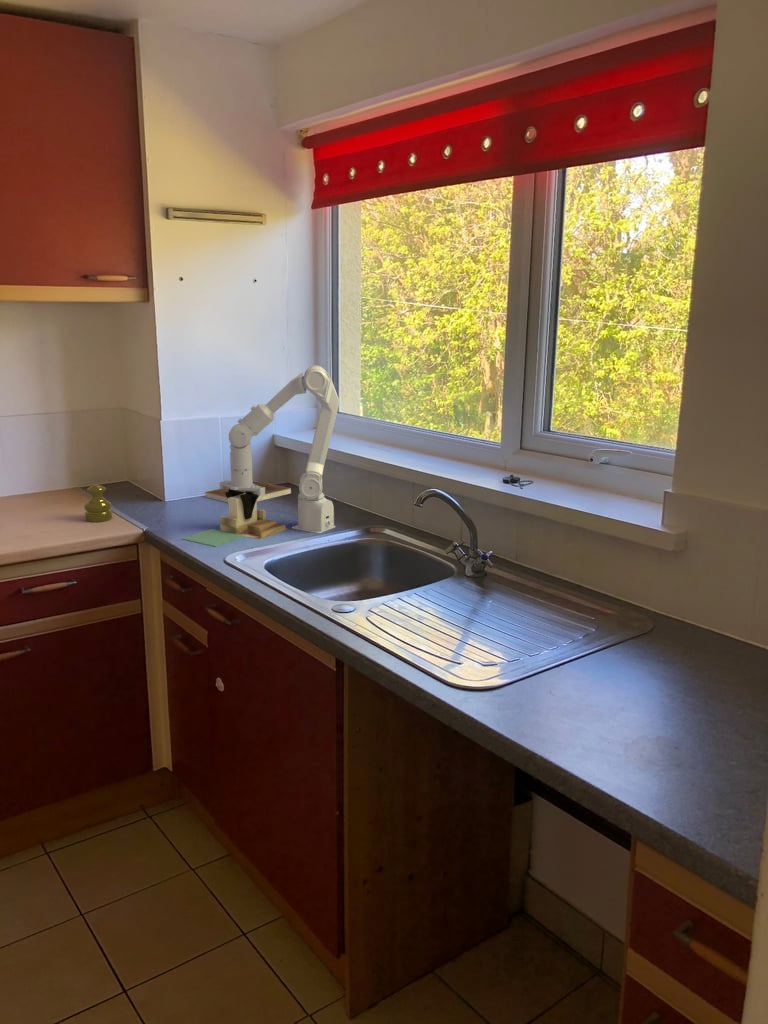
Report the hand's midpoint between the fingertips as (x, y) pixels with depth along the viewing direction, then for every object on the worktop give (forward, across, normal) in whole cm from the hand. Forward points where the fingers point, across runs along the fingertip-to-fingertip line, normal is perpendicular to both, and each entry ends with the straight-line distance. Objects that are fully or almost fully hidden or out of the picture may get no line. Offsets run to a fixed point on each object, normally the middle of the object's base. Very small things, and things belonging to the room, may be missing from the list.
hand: (243, 517), depth 229 cm
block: (+3, 0, 0) cm, 3 cm away
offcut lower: (+3, +7, 0) cm, 8 cm away
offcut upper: (+2, +7, 0) cm, 7 cm away
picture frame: (+4, -25, +31) cm, 40 cm away
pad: (+3, 0, -12) cm, 12 cm away
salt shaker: (+4, -41, -15) cm, 44 cm away
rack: (+3, +4, 0) cm, 5 cm away
